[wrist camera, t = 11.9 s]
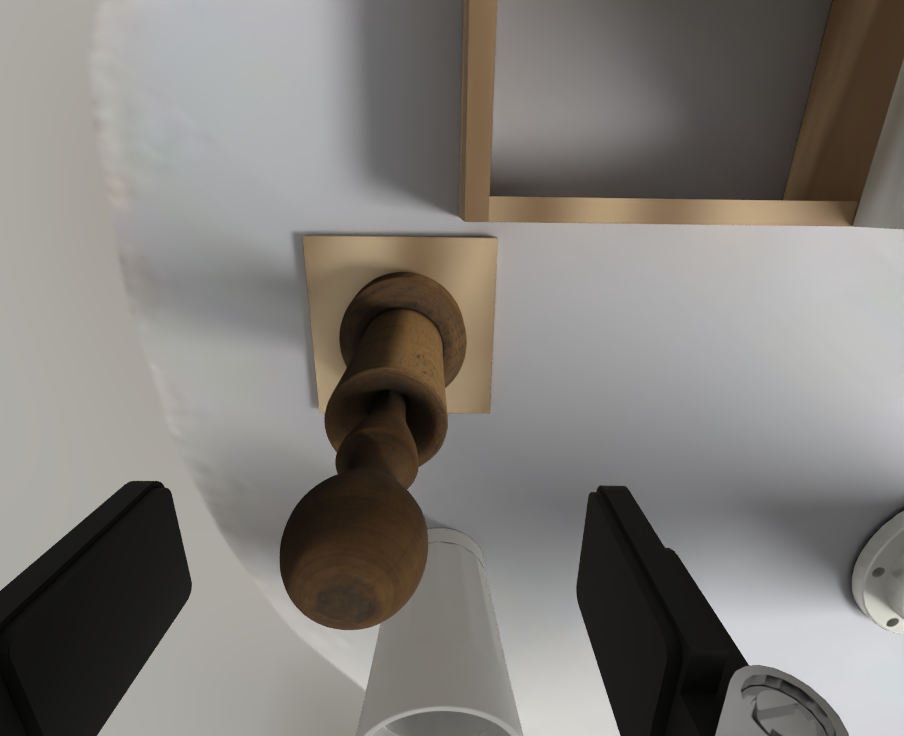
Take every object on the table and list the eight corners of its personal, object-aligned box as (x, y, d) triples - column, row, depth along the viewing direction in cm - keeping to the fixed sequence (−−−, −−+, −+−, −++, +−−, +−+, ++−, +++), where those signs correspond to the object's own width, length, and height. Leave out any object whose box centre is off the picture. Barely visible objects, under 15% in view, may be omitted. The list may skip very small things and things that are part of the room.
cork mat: (496, 237, 24) (498, 238, 24) (488, 408, 28) (489, 413, 27) (305, 235, 24) (302, 236, 23) (322, 409, 27) (319, 413, 27)
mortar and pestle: (488, 343, 25) (590, 626, 9) (398, 407, 27) (332, 765, 10) (415, 245, 24) (360, 361, 7) (321, 319, 25) (72, 576, 8)
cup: (362, 539, 31) (319, 735, 19) (473, 503, 30) (496, 686, 19) (406, 620, 33) (391, 835, 22) (510, 589, 33) (548, 794, 21)
